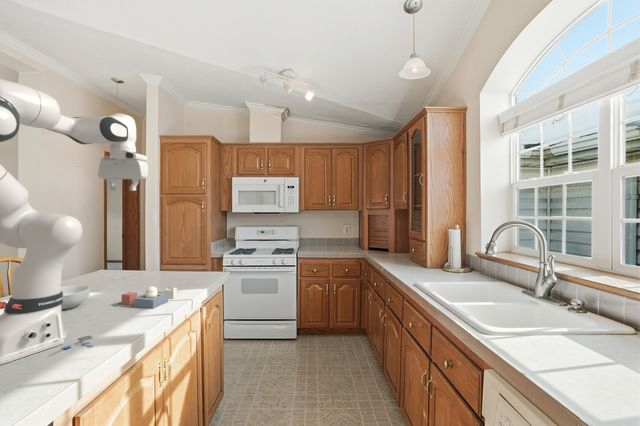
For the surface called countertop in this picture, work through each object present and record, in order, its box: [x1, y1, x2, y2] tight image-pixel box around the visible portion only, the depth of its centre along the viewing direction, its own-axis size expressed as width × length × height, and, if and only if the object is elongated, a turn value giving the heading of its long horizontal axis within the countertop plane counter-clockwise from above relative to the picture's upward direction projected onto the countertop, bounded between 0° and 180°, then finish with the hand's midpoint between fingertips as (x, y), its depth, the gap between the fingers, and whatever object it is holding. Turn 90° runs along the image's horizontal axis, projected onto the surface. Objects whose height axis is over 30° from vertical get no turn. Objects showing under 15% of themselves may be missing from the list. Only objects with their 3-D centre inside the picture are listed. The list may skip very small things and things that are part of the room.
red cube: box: [120, 291, 138, 306], centre depth 131 cm, size 4×4×4 cm
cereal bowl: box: [61, 285, 91, 311], centre depth 125 cm, size 17×17×7 cm
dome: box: [145, 285, 158, 298], centre depth 131 cm, size 4×4×5 cm
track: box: [112, 291, 164, 308], centre depth 139 cm, size 23×9×1 cm, turn 169°
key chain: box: [48, 335, 94, 357], centre depth 91 cm, size 14×8×1 cm, turn 4°
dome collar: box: [133, 293, 169, 309], centre depth 131 cm, size 9×9×4 cm
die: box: [163, 287, 178, 300], centre depth 142 cm, size 4×4×5 cm
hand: (122, 190), depth 123 cm, fingers open, 8 cm apart
